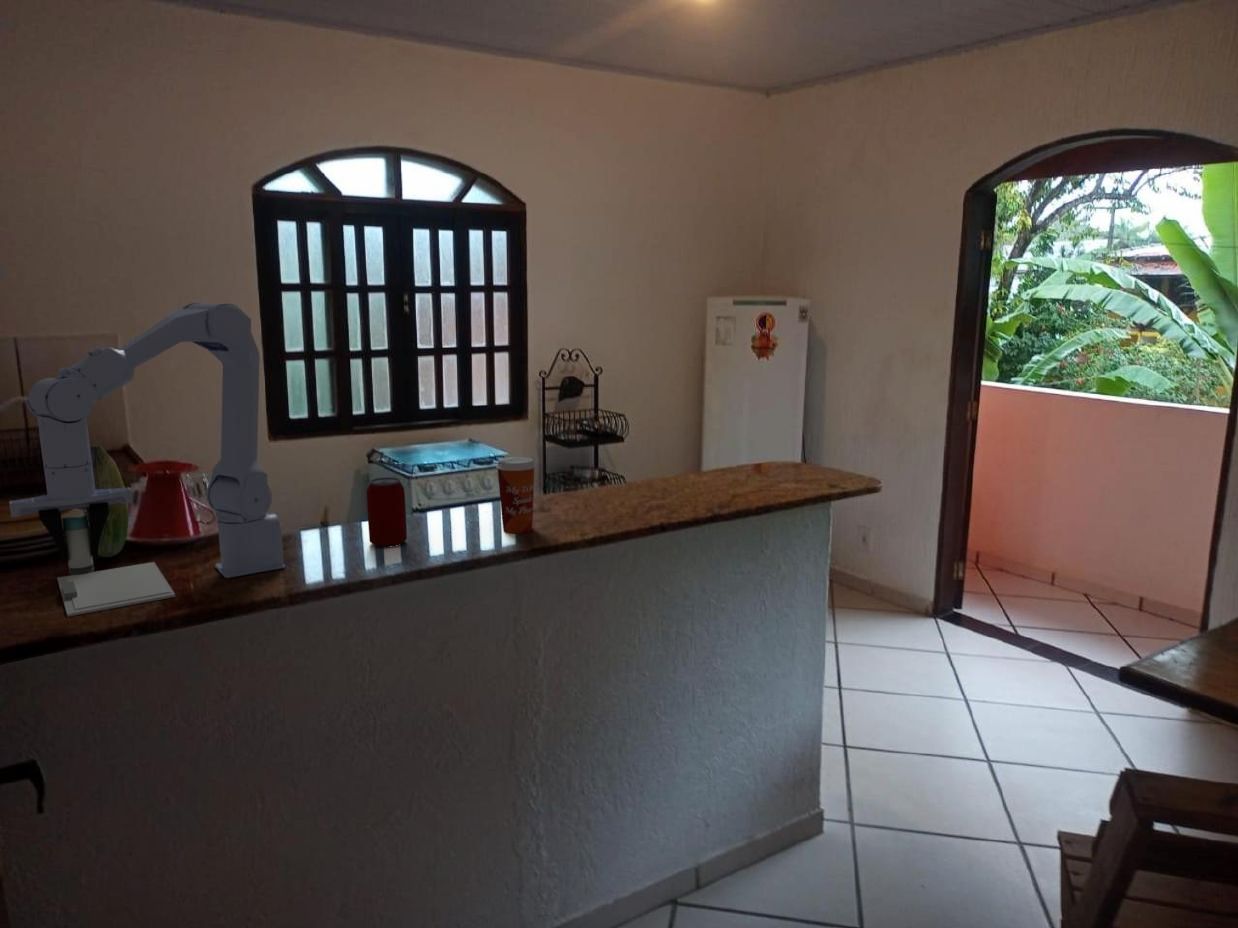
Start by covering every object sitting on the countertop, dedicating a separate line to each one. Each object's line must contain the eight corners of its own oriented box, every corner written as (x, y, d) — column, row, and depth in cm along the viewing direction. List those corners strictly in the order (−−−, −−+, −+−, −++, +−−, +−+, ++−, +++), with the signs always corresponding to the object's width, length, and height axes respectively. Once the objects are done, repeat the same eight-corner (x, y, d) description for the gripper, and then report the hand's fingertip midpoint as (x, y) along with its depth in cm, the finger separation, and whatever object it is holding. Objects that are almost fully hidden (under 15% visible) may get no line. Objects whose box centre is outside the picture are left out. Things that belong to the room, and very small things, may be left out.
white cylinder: (94, 567, 125) (87, 513, 123) (93, 572, 122) (87, 518, 120) (70, 570, 123) (63, 516, 122) (69, 576, 121) (61, 521, 119)
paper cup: (509, 537, 163) (507, 465, 160) (490, 528, 169) (488, 459, 166) (545, 530, 167) (543, 460, 164) (525, 522, 173) (523, 454, 171)
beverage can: (410, 538, 162) (407, 476, 160) (403, 548, 156) (399, 484, 153) (374, 538, 162) (371, 476, 160) (365, 549, 155) (361, 484, 153)
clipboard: (154, 564, 147) (153, 556, 147) (175, 596, 131) (174, 587, 131) (57, 580, 139) (56, 571, 138) (67, 616, 123) (66, 607, 123)
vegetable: (128, 549, 155) (115, 440, 152) (138, 556, 151) (125, 445, 147) (90, 556, 151) (76, 445, 147) (99, 564, 147) (85, 449, 143)
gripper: (123, 454, 127) (134, 542, 129) (4, 465, 118) (17, 560, 121) (130, 461, 121) (140, 554, 124) (5, 474, 113) (19, 573, 116)
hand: (80, 558), depth 122 cm, fingers closed on white cylinder, 3 cm apart
